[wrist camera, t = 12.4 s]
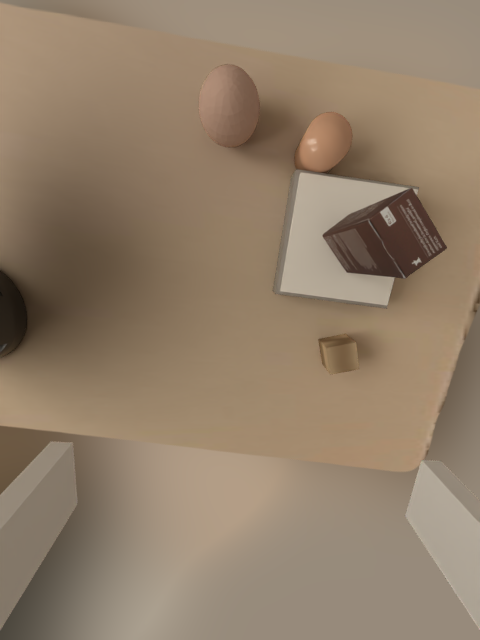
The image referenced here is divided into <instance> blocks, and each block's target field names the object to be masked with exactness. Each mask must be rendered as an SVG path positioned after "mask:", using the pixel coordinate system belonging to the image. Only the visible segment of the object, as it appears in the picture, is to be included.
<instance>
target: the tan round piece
mask: <svg viewBox="0 0 480 640" xmlns="http://www.w3.org/2000/svg"><path fill="white" fill-rule="evenodd" d="M351 143H352V130H351V127H350V124H349V122H348V121H347V120H346V119H345V117H343V116H342V115H340V114H338V113H335V112H326V113H323V114H321V115H319V116H317V117H316V118H315V119H314V120H313V121H312V122H311V124H310V125H309V127H308V129H307V131H306V133H305V134H304V136H303V138H302V140H301V142H300V144H299V146H298V147H297V149H296V152H295V157H294V162H295V167H296V169H299V170H306V171H312V172H319V173H326V174H327V173H328V172H329V171H330V170H331V169H332V168H333V167H334V166H335V165H336V164H337V163H338V162H339V161H341V160H342V159H343V158H344V157H345V156H346V154H347V153H348V151H349V149H350V147H351Z"/></svg>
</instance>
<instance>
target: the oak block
mask: <svg viewBox="0 0 480 640" xmlns="http://www.w3.org/2000/svg"><path fill="white" fill-rule="evenodd" d="M319 346H320V352H321V359H322V364H323V365H324V367H325V368H326V369H327V371H328V372H329V373H330V375H331V374H337V373H342V372H347V371H352V370H357V369H359V362H358V353H357V345H356V342H355V341H354V340H353V339H351V338H350V337H349V336H347V335H346V334H342V335H337V336H332V337H327V338H322V339H319Z"/></svg>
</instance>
